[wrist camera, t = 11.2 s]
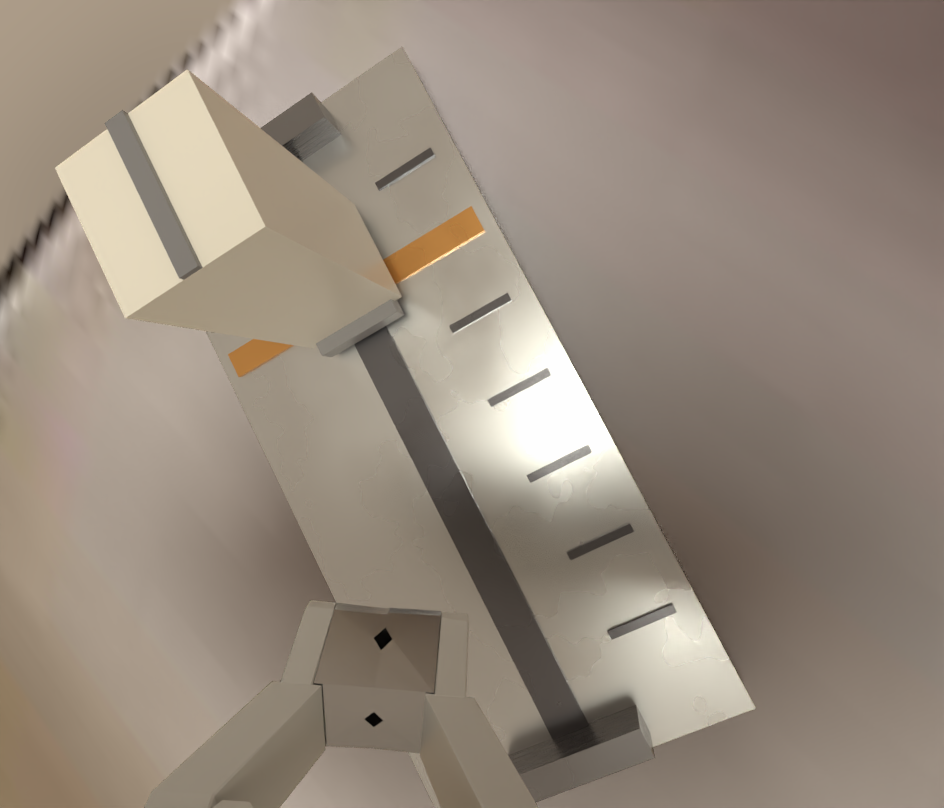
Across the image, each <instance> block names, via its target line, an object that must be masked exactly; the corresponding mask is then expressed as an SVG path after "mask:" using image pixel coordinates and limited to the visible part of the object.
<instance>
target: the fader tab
mask: <svg viewBox="0 0 944 808" xmlns="http://www.w3.org/2000/svg"><path fill="white" fill-rule="evenodd" d="M105 125H106V127H107V130H105V131H104V132H102V133H101V134H100V135H98V136H97V137H96V138H95V139H93V140H92V141H90V142H89V143H88V144H86V145H85V146H84V147H82V148H81V149H80V150H78V151H77V152H76V153H74V154H73V155H72V156H70V157H69V158H68V159H66V160H65V161H63V162H62V163H61V164H59V165H58V166H57V167H55V169H56V171H57V174H58V176H59V178H60V180H61V182H62V184H63V186H64V189H65V191H66V193H67V195H68V197H69V199H70V201H71V203H72V206H73V208H74V210H75V212H76V214H77V216H78V218H79V221H80V223H81V225H82V227H83V229H84V231H85V233H86V235H87V238H88V240H89V242H90V244H91V246H92V248H93V250H94V252H95V255H96V257H97V259H98V261H99V263H100V265H101V267H102V270H103V272H104V274H105V276H106V278H107V280H108V282H109V284H110V287H111V289H112V291H113V293H114V295H115V297H116V299H117V302H118V304H119V306H120V308H121V310H122V312H123V314H124V316H125V318H127V319H134V320H140V321H146V322H152V323H159V324H165V325H171V326H177V327H183V328H190V329H196V330H202V331H208V332H214V333H221V334H227V335H233V336H239V337H245V338H252V339H258V340H264V341H270V342H277V343H283V344H289V345H295V346H301V347H308V348H316V347H318V349H319V351H320V353H321V355H322V356H326V357H333V356H335V355H337V354H338V353H340V352H342V351H344V350H345V349H347V348H349V347H350V346H352V345H354V344H356V343H357V342H359V341H361V340H362V339H364V338H366V337H368V336H369V335H371V334H373V333H374V332H376V331H378V330H380V329H381V328H383V327H385V326H386V325H388V324H390V323H392V322H393V321H395V320H397V319H398V318H400V317H402V316H404V315H405V314H404V312H403V311H402V309H401V307H400V305H399V303H398V301H397V299H399V298H401V297H402V296H401V294H400V292H399V290H398V288H397V286H396V284H395V282H394V280H393V278H392V276H391V274H390V273H389V271H388V269H387V267H386V265H385V263H384V261H383V259H382V257H381V255H380V253H379V251H378V249H377V247H376V245H375V243H374V241H373V239H372V237H371V236H370V234H369V232H368V230H367V228H366V226H365V224H364V222H363V220H362V218H361V216H360V214H359V212H358V210H357V208H356V206H355V204H354V203H352V202H351V201H350V200H349V199H347V198H346V197H345V196H344V195H342V194H341V193H340V192H339V191H337V190H336V189H335V188H334V187H333V186H331V185H330V184H329V183H328V182H326V181H325V180H324V179H323V178H321V177H320V176H319V175H318V174H316V173H315V172H314V171H313V170H311V169H310V168H309V167H308V166H307V165H305V164H304V163H303V162H302V161H300V160H299V159H298V158H297V157H295V156H294V155H293V154H292V153H290V152H289V151H288V150H287V149H285V148H284V147H283V146H282V145H280V144H279V143H278V142H277V141H276V140H274V139H273V138H272V137H271V136H269V135H268V134H267V133H266V132H264V131H263V130H262V129H261V128H259V127H258V126H257V125H256V124H254V123H253V122H252V121H251V120H250V119H248V118H247V117H246V116H245V115H243V114H242V113H241V112H240V111H238V110H237V109H236V108H235V107H233V106H232V105H231V104H230V103H228V102H227V101H226V100H225V99H224V98H222V97H221V96H220V95H219V94H217V93H216V92H215V91H214V90H212V89H211V88H210V87H209V86H207V85H206V84H205V83H204V82H202V81H201V80H200V79H199V78H197V77H196V76H195V75H194V74H193V73H191V72H190V71H189V70H188V69H187V70H186V71H185V72H183V73H182V74H181V75H179V76H178V77H176V78H175V79H174V80H172V81H171V82H170V83H168V84H167V85H166V86H164V87H163V88H162V89H160V90H159V91H158V92H156V93H155V94H154V95H152V96H151V97H150V98H148V99H147V100H146V101H144V102H143V103H142V104H140V105H139V106H137V107H136V108H135V109H133V110H132V111H131V112H129V113H126V112H124V111H123V110H122V111H120V112H119V113H118V114H116V115H115V116H114V117H112V118H111V119H110V120H108V121H107V122H106V123H105Z"/></svg>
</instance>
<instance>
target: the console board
mask: <svg viewBox="0 0 944 808" xmlns="http://www.w3.org/2000/svg"><path fill="white" fill-rule="evenodd" d="M261 129H262V130H263V131H264V132H266V133H267V134H268V135H269V136H271V137H272V138H273V139H274V140H276V141H277V142H278V143H279V144H280V145H282V146H283V147H284V148H285V149H287V150H288V151H289V152H290V153H292V154H293V155H294V156H295V157H297V158H298V159H299V160H300V161H302V162H303V163H304V164H305V165H307V166H308V167H309V168H310V169H311V170H313V171H314V172H315V173H316V174H318V175H319V176H320V177H321V178H323V179H324V180H325V181H326V182H328V183H329V184H330V185H331V186H333V187H334V188H335V189H336V190H337V191H339V192H340V193H341V194H342V195H344V196H345V197H346V198H347V199H349V200H350V201H351V202H352V203H354V204H355V206H356V208H357V210H358V212H359V214H360V216H361V218H362V220H363V222H364V224H365V226H366V228H367V230H368V232H369V234H370V236H371V237H372V239H373V241H374V243H375V245H376V247H377V249H378V251H379V253H380V255H381V257H382V259H383V261H384V263H385V265H386V267H387V269H388V271H389V273H390V274H391V276H392V278H393V280H394V282H395V284H396V286H397V288H398V290H399V292H400V294H401V296H402V297H401V298H399V299H397V301H398V303H399V305H400V307H401V309H402V311H403V312H404V314H405V315H404V316H402V317H400V318H398V319H397V320H395V321H393V322H392V323H390V324H388V325H386V326H385V327H383V328H381V329H380V330H378V331H376V332H374V333H373V334H371V335H369V336H368V337H366V338H364V339H362V340H361V341H359V342H357V343H356V344H354V345H352V346H350V347H349V348H347V349H345V350H344V351H342V352H340V353H338V354H337V355H335V356H333V357H326V356H322V355H321V353H320V351H319V349H318V347H316V348H308V347H301V346H295V345H289V344H283V343H277V342H270V341H264V340H258V339H252V338H245V337H239V336H233V335H227V334H221V333H214V332H208V331H206V333H207V335H208V337H209V339H210V341H211V343H212V345H213V347H214V349H215V351H216V354H217V356H218V358H219V360H220V362H221V364H222V366H223V368H224V370H225V372H226V374H227V376H228V379H229V381H230V383H231V385H232V387H233V389H234V391H235V393H236V395H237V397H238V399H239V401H240V404H241V406H242V408H243V410H244V412H245V414H246V416H247V418H248V420H249V422H250V424H251V426H252V428H253V431H254V433H255V435H256V437H257V439H258V441H259V443H260V445H261V447H262V449H263V451H264V453H265V456H266V458H267V460H268V462H269V464H270V466H271V468H272V470H273V472H274V474H275V476H276V478H277V481H278V483H279V485H280V487H281V489H282V491H283V493H284V495H285V497H286V499H287V501H288V503H289V505H290V508H291V510H292V512H293V514H294V516H295V518H296V520H297V522H298V524H299V526H300V528H301V530H302V533H303V535H304V537H305V539H306V541H307V543H308V545H309V547H310V549H311V551H312V553H313V555H314V558H315V560H316V562H317V564H318V566H319V568H320V570H321V572H322V574H323V576H324V578H325V580H326V582H327V585H328V587H329V589H330V591H331V593H332V595H333V597H334V599H335V601H336V603H344V604H353V605H362V606H371V607H380V608H390V607H391V608H405V609H419V610H434V611H441V613H442V612H451V613H464V614H468V617H469V636H468V666H467V696H466V697H472V698H475V699H476V701H477V703H478V705H479V706H480V708H481V710H482V711H483V713H484V715H485V717H486V718H487V720H488V722H489V723H490V725H491V727H492V729H493V730H494V732H495V734H496V735H497V737H498V739H499V741H500V742H501V744H502V746H503V747H504V749H505V751H506V753H507V754H508V756H509V758H510V759H511V761H512V763H513V765H514V766H515V768H516V770H517V772H518V773H519V775H520V777H521V778H522V780H523V782H524V784H525V785H526V787H527V789H528V790H529V792H530V794H531V796H532V797H533V799H534V801H535V802H538V801H541V800H543V799H546V798H549V797H551V796H554V795H557V794H559V793H562V792H565V791H567V790H570V789H573V788H575V787H578V786H581V785H583V784H586V783H589V782H592V781H594V780H597V779H600V778H602V777H605V776H608V775H610V774H613V773H616V772H618V771H621V770H624V769H626V768H629V767H632V766H634V765H637V764H640V763H643V762H645V761H648V760H651V759H653V758H655V755H654V750H653V747H655V746H657V745H660V744H663V743H665V742H668V741H671V740H673V739H676V738H679V737H681V736H684V735H687V734H689V733H692V732H694V731H697V730H700V729H702V728H705V727H708V726H710V725H713V724H716V723H718V722H721V721H724V720H726V719H729V718H732V717H734V716H737V715H740V714H742V713H745V712H748V711H750V710H753V709H756V708H755V706H754V704H753V702H752V700H751V698H750V696H749V694H748V693H747V691H746V689H745V687H744V685H743V683H742V681H741V679H740V678H739V676H738V674H737V672H736V670H735V668H734V666H733V665H732V663H731V661H730V659H729V657H728V655H727V653H726V651H725V650H724V648H723V646H722V644H721V642H720V640H719V638H718V636H717V635H716V633H715V631H714V629H713V627H712V625H711V623H710V621H709V620H708V618H707V616H706V614H705V612H704V610H703V608H702V606H701V605H700V603H699V601H698V599H697V597H696V595H695V593H694V591H693V590H692V588H691V586H690V584H689V582H688V580H687V578H686V576H685V575H684V573H683V571H682V569H681V567H680V565H679V563H678V562H677V560H676V558H675V556H674V554H673V552H672V550H671V548H670V547H669V545H668V543H667V541H666V539H665V537H664V535H663V533H662V532H661V530H660V528H659V526H658V524H657V522H656V520H655V518H654V517H653V515H652V513H651V511H650V509H649V507H648V505H647V503H646V502H645V500H644V498H643V496H642V494H641V492H640V490H639V488H638V487H637V485H636V483H635V481H634V479H633V477H632V475H631V474H630V472H629V470H628V468H627V466H626V464H625V462H624V460H623V459H622V457H621V455H620V453H619V451H618V449H617V447H616V445H615V444H614V442H613V440H612V438H611V436H610V434H609V432H608V430H607V429H606V427H605V425H604V423H603V421H602V419H601V417H600V415H599V414H598V412H597V410H596V408H595V406H594V404H593V402H592V400H591V399H590V397H589V395H588V393H587V391H586V389H585V387H584V386H583V384H582V382H581V380H580V378H579V376H578V374H577V372H576V371H575V369H574V367H573V365H572V363H571V361H570V359H569V357H568V356H567V354H566V352H565V350H564V348H563V346H562V344H561V342H560V341H559V339H558V337H557V335H556V333H555V331H554V329H553V327H552V326H551V324H550V322H549V320H548V318H547V316H546V314H545V312H544V311H543V309H542V307H541V305H540V303H539V301H538V299H537V298H536V296H535V294H534V292H533V290H532V288H531V286H530V284H529V283H528V281H527V279H526V277H525V275H524V273H523V271H522V269H521V268H520V266H519V264H518V262H517V260H516V258H515V256H514V254H513V253H512V251H511V249H510V247H509V245H508V243H507V241H506V239H505V238H504V236H503V234H502V232H501V230H500V228H499V226H498V224H497V223H496V221H495V219H494V217H493V215H492V213H491V211H490V209H489V208H488V206H487V204H486V202H485V200H484V198H483V196H482V195H481V193H480V191H479V189H478V187H477V185H476V183H475V181H474V180H473V178H472V176H471V174H470V172H469V170H468V168H467V166H466V165H465V163H464V161H463V159H462V157H461V155H460V153H459V151H458V150H457V148H456V146H455V144H454V142H453V140H452V138H451V136H450V135H449V133H448V131H447V129H446V127H445V125H444V123H443V121H442V120H441V118H440V116H439V114H438V112H437V110H436V108H435V107H434V105H433V103H432V101H431V99H430V97H429V95H428V93H427V92H426V90H425V88H424V86H423V84H422V82H421V80H420V78H419V77H418V75H417V73H416V71H415V69H414V67H413V65H412V63H411V62H410V60H409V58H408V56H407V54H406V52H405V50H404V49H403V47H401V48H399V49H398V50H397V51H395V52H394V53H392V54H391V55H389V56H388V57H386V58H385V59H384V60H382V61H381V62H379V63H378V64H376V65H375V66H373V67H372V68H370V69H369V70H368V71H366V72H365V73H363V74H362V75H360V76H359V77H357V78H356V79H355V80H353V81H352V82H350V83H349V84H347V85H346V86H344V87H343V88H341V89H340V90H339V91H337V92H336V93H334V94H333V95H331V96H330V97H328V98H327V99H326V100H324V101H323V102H320V101H319V100H318V99H317V98H316V96H315V95H314V94H313V93H310V94H309V95H307V96H306V97H305V98H303V99H302V100H300V101H299V102H297V103H296V104H295V105H293V106H292V107H290V108H289V109H287V110H286V111H284V112H283V113H282V114H280V115H279V116H277V117H276V118H274V119H273V120H272V121H270V122H269V123H267V124H266V125H264V126H263V127H261ZM408 753H409V755H410V757H411V759H412V761H413V764H414V766H415V768H416V770H417V772H418V774H419V776H420V778H421V780H422V782H423V784H424V786H425V789H426V791H427V793H428V795H429V797H430V799H431V801H432V803H433V805H434V807H435V808H441V807H440V804H439V802H438V799H437V797H436V795H435V792H434V790H433V787H432V785H431V782H430V780H429V777H428V775H427V772H426V770H425V767H424V765H423V763H422V760H421V758H420V753H411V752H408Z"/></svg>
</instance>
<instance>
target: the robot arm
mask: <svg viewBox="0 0 944 808" xmlns="http://www.w3.org/2000/svg"><path fill="white" fill-rule="evenodd" d="M468 636H469V617H468V614H464V613H451V612H442V613H441V611H434V610H419V609H405V608H391V607H390V608H380V607H371V606H362V605H353V604H344V603H335V602H324V601H314V600H310V602H309V603H308V605H307V606H306V608H305V611H304V614H303V617H302V620H301V622H300V625H299V628H298V631H297V634H296V637H295V640H294V643H293V646H292V649H291V652H290V655H289V658H288V661H287V664H286V667H285V670H284V673H283V676H282V678H281V681H280V682H276V681H272V682H271V683H270V684H269V685H268V686H266V687H265V688H264V689H263V690H262V691H261V692H260V693H259V694H258V695H257V696H256V697H254V698H253V699H252V700H251V701H250V702H249V703H248V704H247V705H246V706H245V707H243V708H242V709H241V710H240V711H239V712H238V713H237V714H236V715H235V716H234V717H233V718H231V719H230V720H229V721H228V722H227V723H226V724H225V725H224V726H223V727H222V728H220V729H219V730H218V731H217V732H216V733H215V734H214V735H213V736H212V737H211V738H210V739H208V740H207V741H206V742H205V743H204V744H203V745H202V746H201V747H200V748H199V749H197V750H196V751H195V752H194V753H193V754H192V755H191V756H190V757H189V758H188V759H187V760H185V761H184V762H183V763H182V764H181V765H180V766H179V767H178V768H177V769H176V770H174V771H173V772H172V773H171V774H170V775H169V776H168V777H167V778H166V779H165V780H164V781H162V782H161V783H160V784H159V785H158V786H157V787H156V788H155V789H154V790H153V791H152V792H151V794H150V796H149V798H148V800H147V802H146V805H145V807H144V808H280V806H281V805H282V804H283V803H284V801H285V800H286V799H287V798H288V796H289V795H290V794H291V793H292V791H293V790H294V789H295V787H296V786H297V785H298V784H299V782H300V781H301V780H302V779H303V777H304V776H305V775H306V774H307V772H308V771H309V770H310V769H311V767H312V766H313V765H314V763H315V762H316V761H317V760H318V758H319V757H320V756H321V755H322V753H323V752H324V751H325V746H333V747H354V748H373V747H374V749H383V750H392V751H402V752H411V753H420V758H421V760H422V763H423V765H424V767H425V770H426V772H427V775H428V777H429V780H430V782H431V785H432V787H433V790H434V792H435V795H436V797H437V799H438V802H439V804H440V807H441V808H538V806H537V804H536V802H535V801H534V799H533V797H532V796H531V794H530V792H529V790H528V789H527V787H526V785H525V784H524V782H523V780H522V778H521V777H520V775H519V773H518V772H517V770H516V768H515V766H514V765H513V763H512V761H511V759H510V758H509V756H508V754H507V753H506V751H505V749H504V747H503V746H502V744H501V742H500V741H499V739H498V737H497V735H496V734H495V732H494V730H493V729H492V727H491V725H490V723H489V722H488V720H487V718H486V717H485V715H484V713H483V711H482V710H481V708H480V706H479V705H478V703H477V701H476V699H475V698H472V697H466V696H467V666H468Z"/></svg>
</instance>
